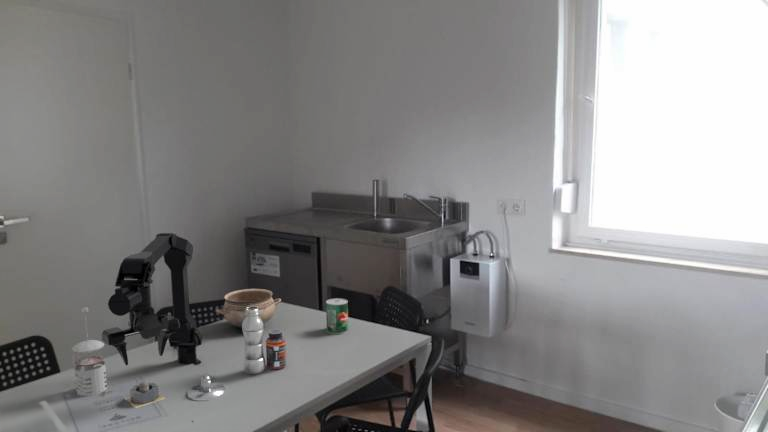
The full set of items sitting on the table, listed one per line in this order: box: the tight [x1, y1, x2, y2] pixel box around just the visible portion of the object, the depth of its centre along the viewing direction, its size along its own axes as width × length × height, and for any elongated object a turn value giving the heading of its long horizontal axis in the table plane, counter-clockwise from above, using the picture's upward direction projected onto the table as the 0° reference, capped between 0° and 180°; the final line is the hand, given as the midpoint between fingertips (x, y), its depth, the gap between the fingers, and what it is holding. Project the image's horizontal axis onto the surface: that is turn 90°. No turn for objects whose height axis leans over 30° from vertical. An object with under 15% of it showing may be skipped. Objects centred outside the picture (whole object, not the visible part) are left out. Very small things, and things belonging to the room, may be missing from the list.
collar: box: [129, 382, 160, 404], centre depth 161 cm, size 7×7×3 cm
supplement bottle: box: [265, 329, 287, 371], centre depth 183 cm, size 6×6×11 cm
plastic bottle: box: [241, 307, 266, 375], centre depth 178 cm, size 6×7×20 cm
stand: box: [124, 381, 166, 409], centre depth 160 cm, size 8×8×6 cm
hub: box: [187, 374, 226, 402], centre depth 164 cm, size 10×10×6 cm
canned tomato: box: [325, 297, 349, 335], centre depth 215 cm, size 8×8×11 cm
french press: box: [71, 306, 108, 397], centre depth 166 cm, size 10×12×25 cm
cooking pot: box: [215, 288, 282, 329], centre depth 220 cm, size 25×19×12 cm
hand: (144, 360), depth 159 cm, fingers open, 9 cm apart
